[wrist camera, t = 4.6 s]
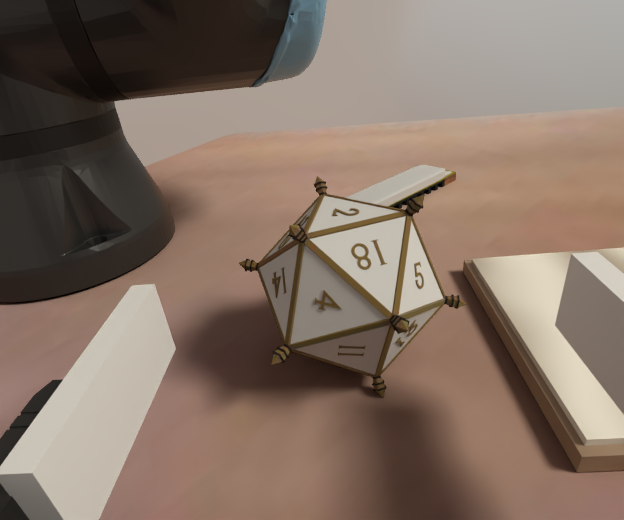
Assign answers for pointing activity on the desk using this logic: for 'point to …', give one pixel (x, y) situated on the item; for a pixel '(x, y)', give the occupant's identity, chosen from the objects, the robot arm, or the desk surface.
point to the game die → (351, 284)
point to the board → (551, 352)
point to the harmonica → (405, 186)
